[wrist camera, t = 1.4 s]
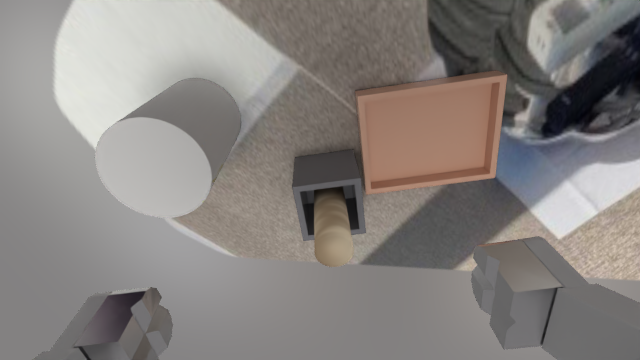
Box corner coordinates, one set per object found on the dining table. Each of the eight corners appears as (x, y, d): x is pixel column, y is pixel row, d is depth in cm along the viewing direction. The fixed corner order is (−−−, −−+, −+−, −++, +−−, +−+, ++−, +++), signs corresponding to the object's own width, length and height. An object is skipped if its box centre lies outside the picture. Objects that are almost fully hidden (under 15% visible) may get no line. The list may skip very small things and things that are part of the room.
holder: (352, 149, 37) (360, 177, 32) (358, 198, 40) (365, 233, 35) (295, 157, 38) (292, 187, 32) (304, 205, 41) (303, 241, 35)
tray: (496, 70, 34) (507, 74, 32) (486, 169, 39) (495, 177, 37) (354, 91, 34) (357, 96, 32) (363, 185, 40) (366, 194, 38)
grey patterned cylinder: (176, 159, 38) (124, 224, 27) (148, 85, 34) (73, 126, 23) (249, 148, 37) (224, 210, 27) (228, 72, 33) (190, 108, 23)
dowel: (340, 166, 38) (351, 233, 27) (343, 191, 39) (355, 264, 29) (311, 170, 38) (311, 239, 27) (315, 195, 39) (317, 268, 29)
